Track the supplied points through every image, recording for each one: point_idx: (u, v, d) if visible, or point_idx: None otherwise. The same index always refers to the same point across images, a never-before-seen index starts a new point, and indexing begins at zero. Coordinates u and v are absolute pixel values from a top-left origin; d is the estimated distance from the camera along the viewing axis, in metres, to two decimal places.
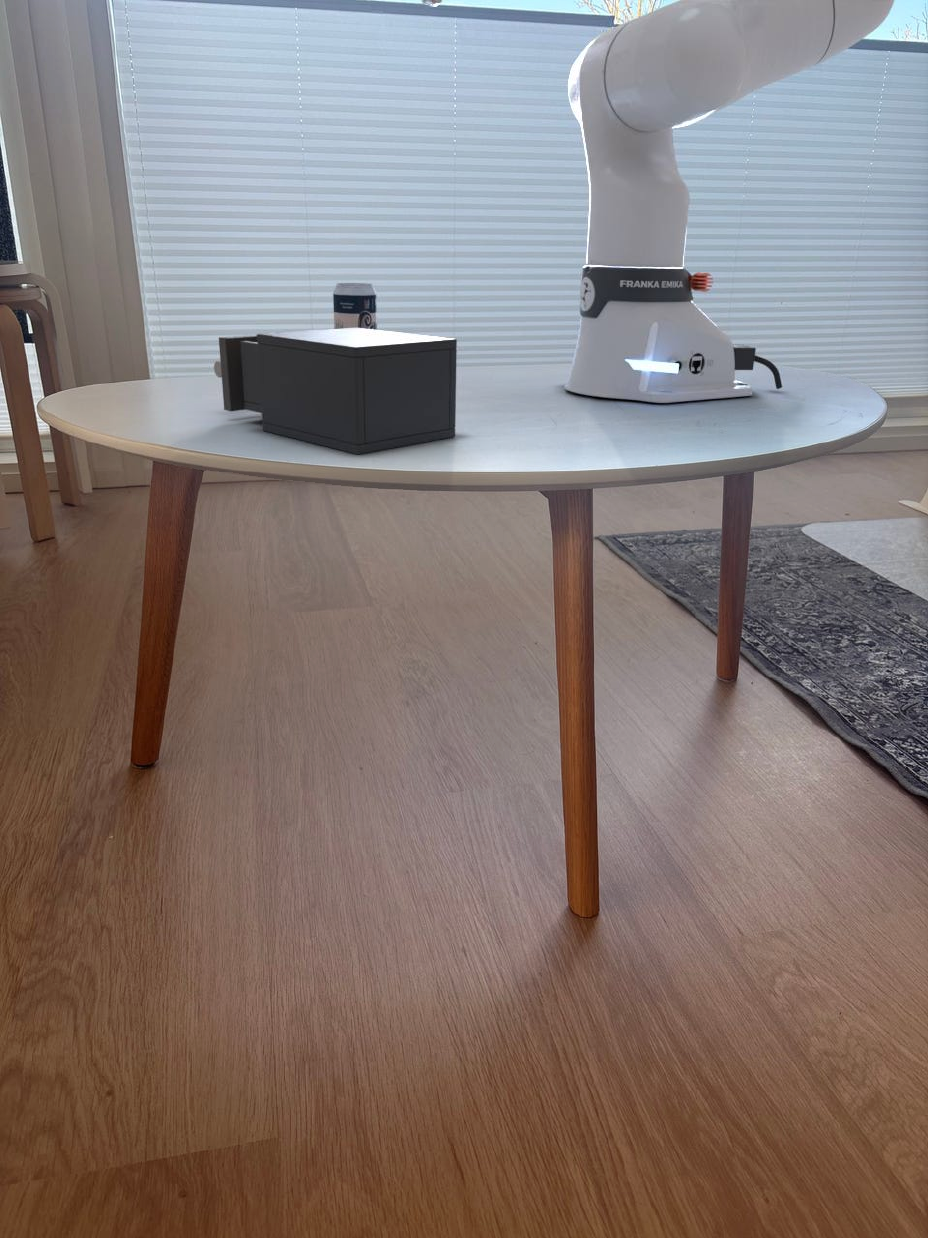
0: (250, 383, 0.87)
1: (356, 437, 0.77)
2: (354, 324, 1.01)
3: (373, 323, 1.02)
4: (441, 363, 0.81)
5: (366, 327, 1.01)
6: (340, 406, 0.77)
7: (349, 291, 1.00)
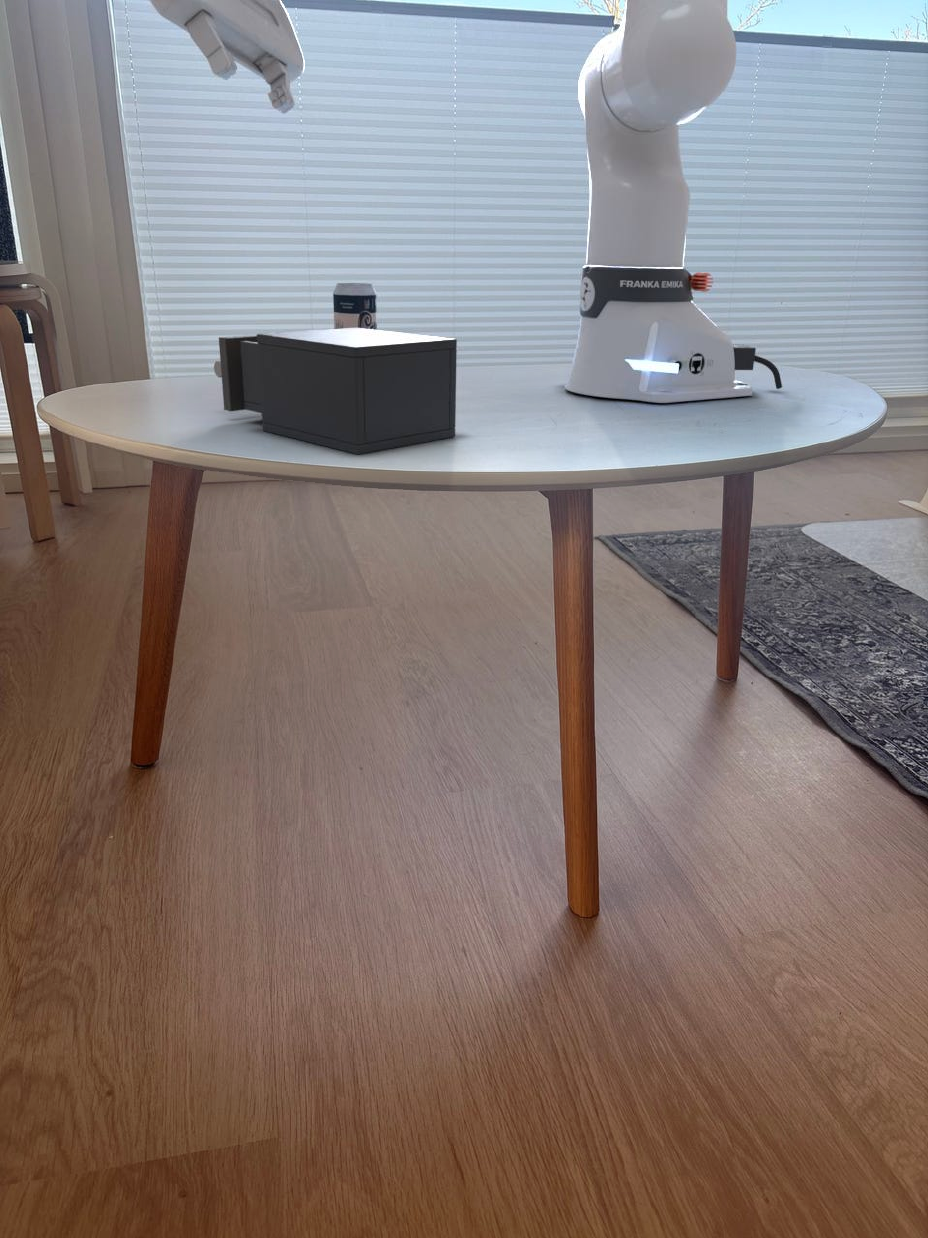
0: (250, 383, 0.87)
1: (356, 437, 0.77)
2: (354, 324, 1.01)
3: (373, 323, 1.02)
4: (441, 363, 0.81)
5: (366, 327, 1.01)
6: (340, 406, 0.77)
7: (349, 291, 1.00)
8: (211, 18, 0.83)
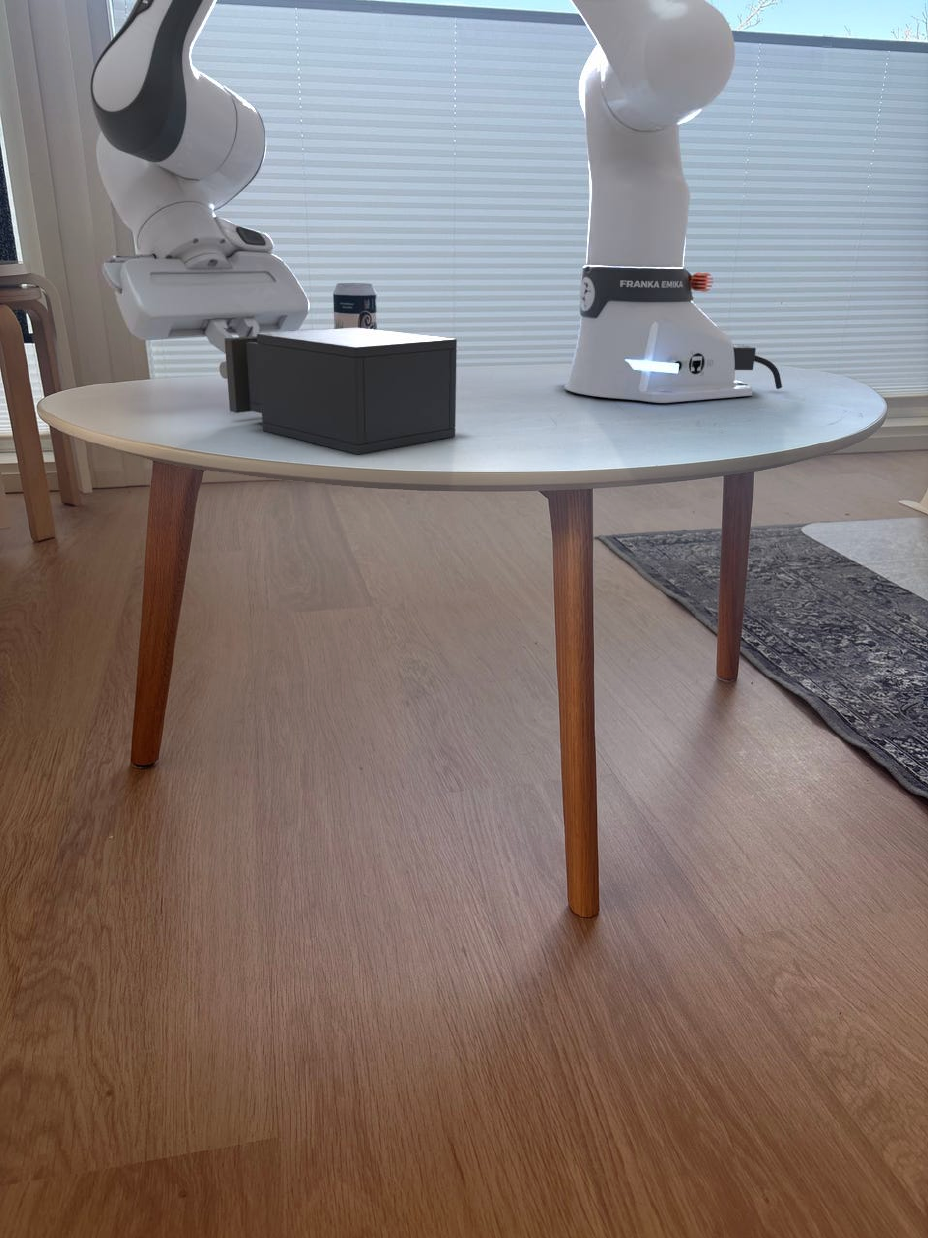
0: (256, 384, 0.87)
1: (356, 437, 0.77)
2: (354, 324, 1.01)
3: (373, 323, 1.02)
4: (441, 363, 0.81)
5: (366, 327, 1.01)
6: (340, 406, 0.77)
7: (349, 291, 1.00)
8: (222, 321, 0.93)
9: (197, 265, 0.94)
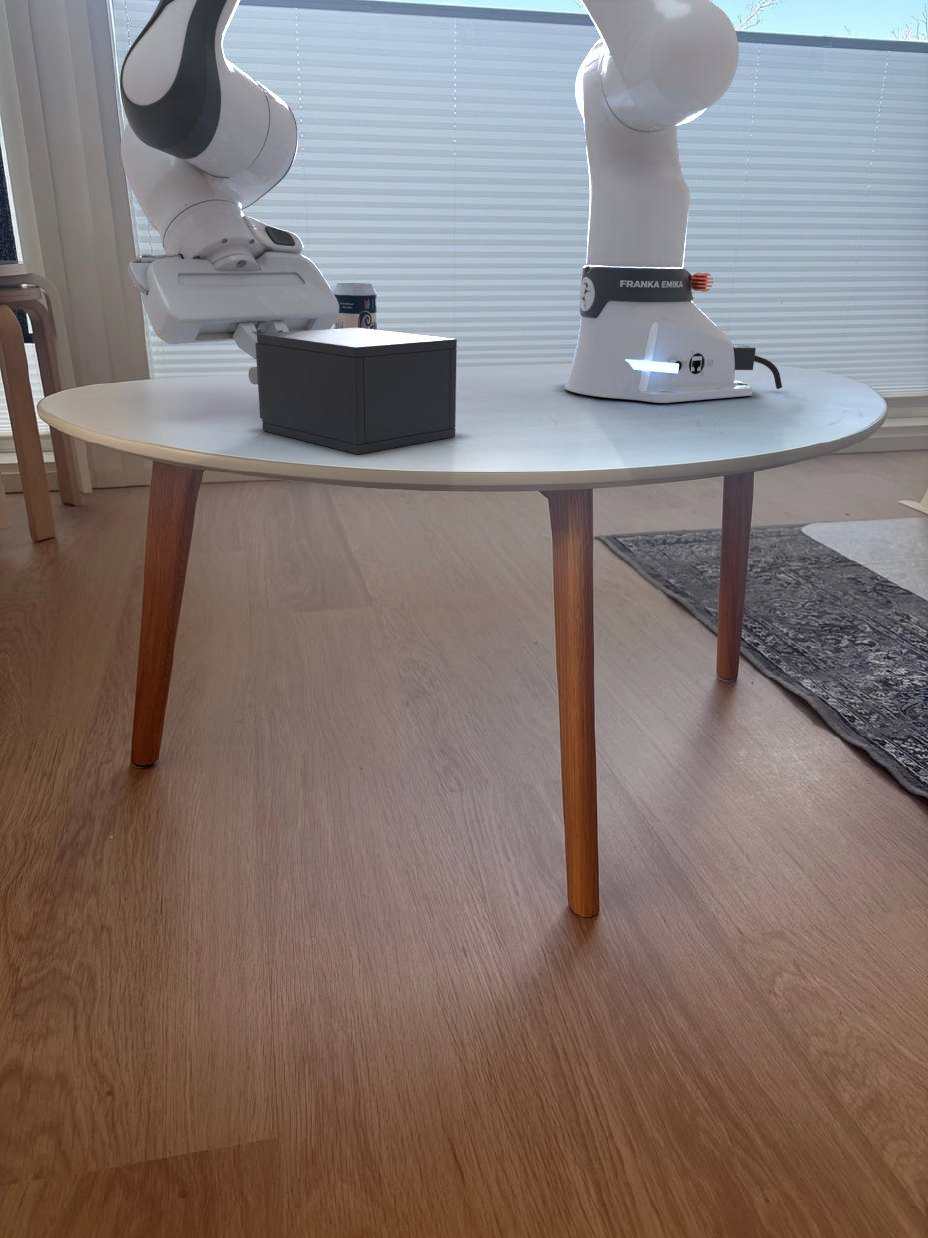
0: None
1: (356, 437, 0.77)
2: (354, 324, 1.01)
3: (373, 323, 1.02)
4: (441, 363, 0.81)
5: (366, 327, 1.01)
6: (340, 406, 0.77)
7: (349, 291, 1.00)
8: (251, 325, 0.90)
9: (226, 266, 0.90)
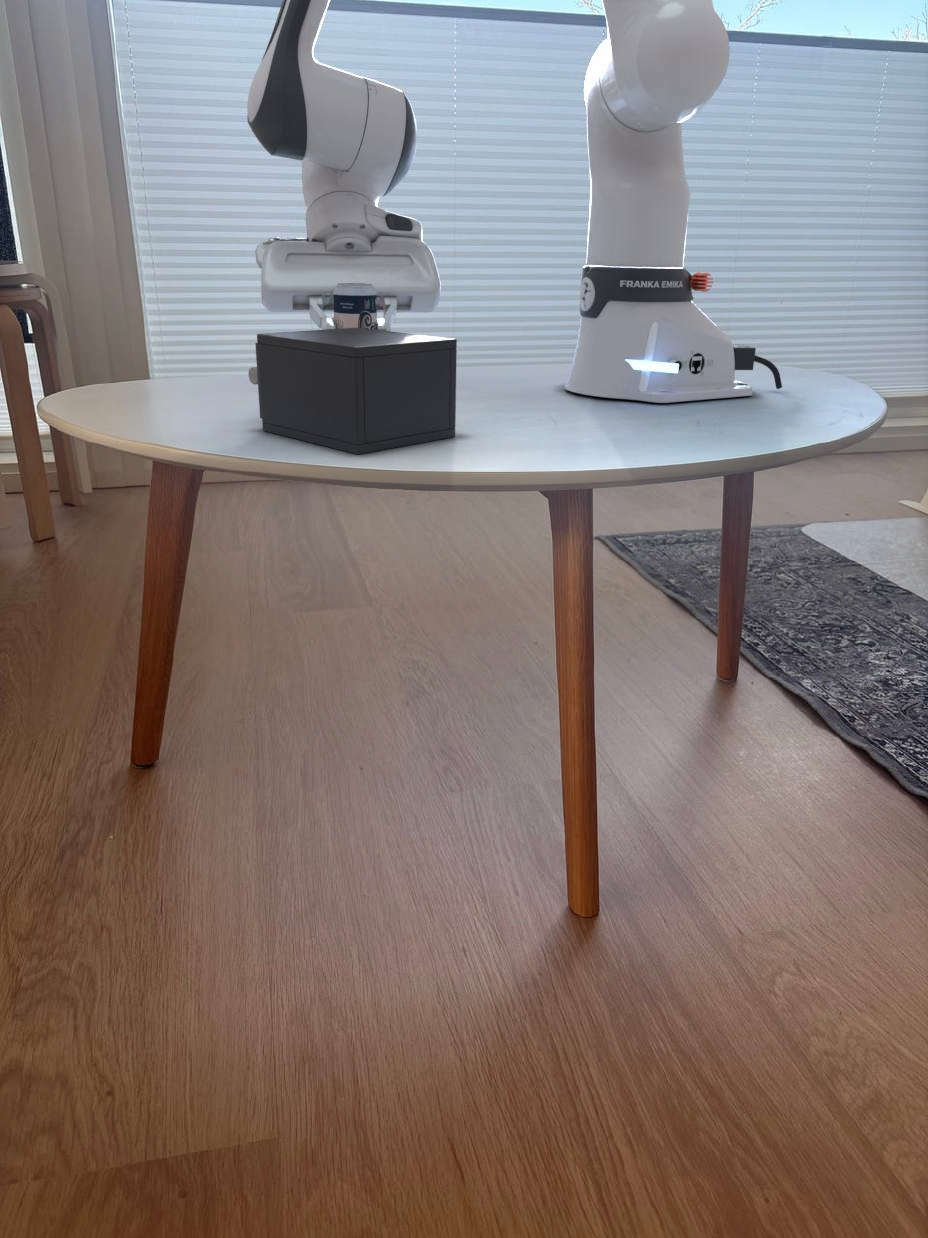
0: None
1: (356, 437, 0.77)
2: (355, 324, 1.01)
3: (373, 323, 1.02)
4: (441, 363, 0.81)
5: (366, 327, 1.01)
6: (340, 406, 0.77)
7: (349, 291, 1.00)
8: (319, 298, 1.03)
9: (335, 247, 1.05)
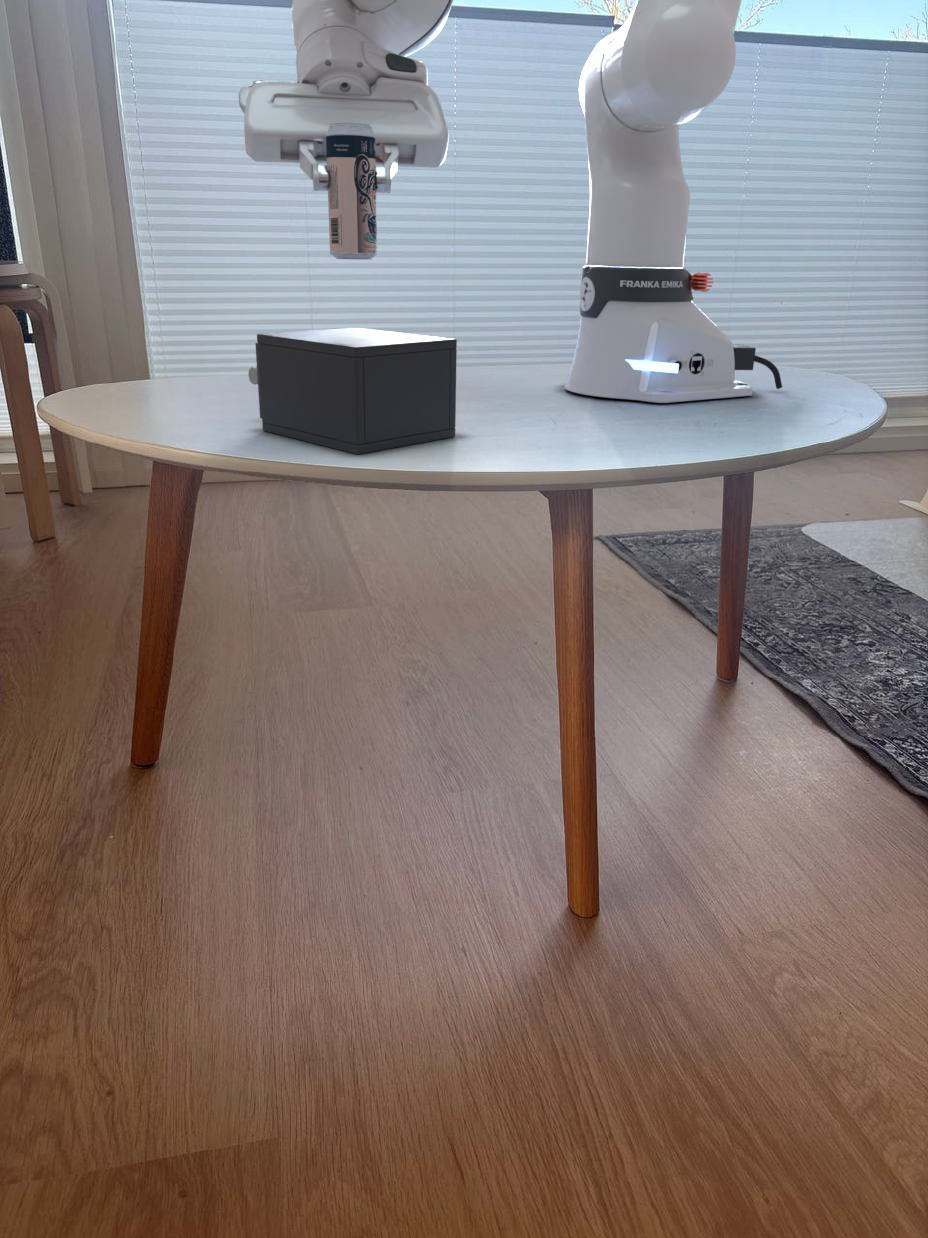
0: None
1: (356, 437, 0.77)
2: (350, 170, 0.89)
3: (371, 171, 0.90)
4: (441, 363, 0.81)
5: (363, 174, 0.89)
6: (340, 406, 0.77)
7: (344, 130, 0.88)
8: (310, 143, 0.91)
9: (328, 89, 0.92)
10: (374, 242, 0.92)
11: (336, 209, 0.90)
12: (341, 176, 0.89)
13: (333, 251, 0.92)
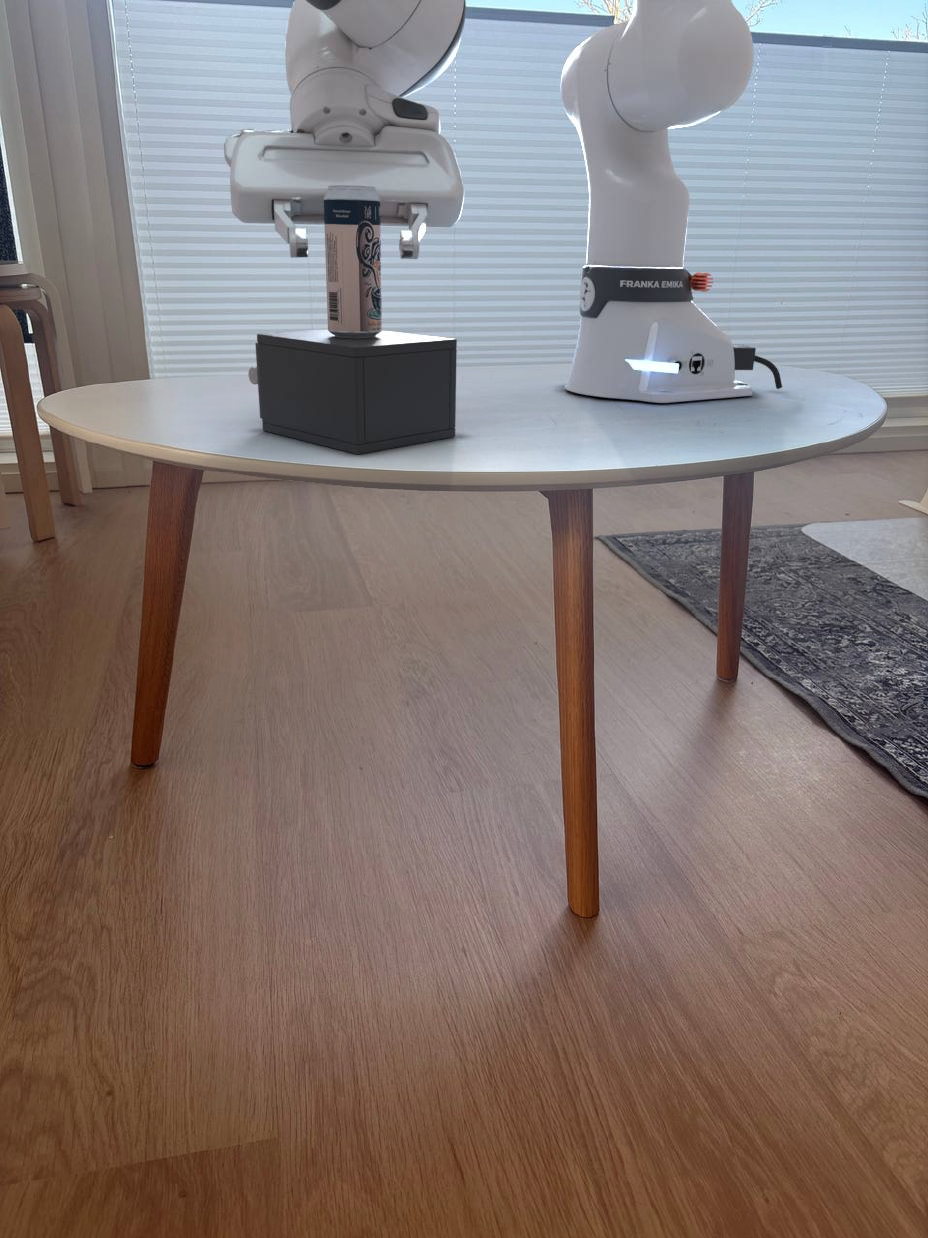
0: None
1: (356, 437, 0.77)
2: (352, 239, 0.77)
3: (376, 239, 0.78)
4: (441, 363, 0.81)
5: (367, 243, 0.77)
6: (340, 406, 0.77)
7: (344, 194, 0.76)
8: (286, 203, 0.79)
9: (327, 140, 0.81)
10: (378, 318, 0.81)
11: (335, 282, 0.79)
12: (341, 245, 0.77)
13: (332, 329, 0.81)
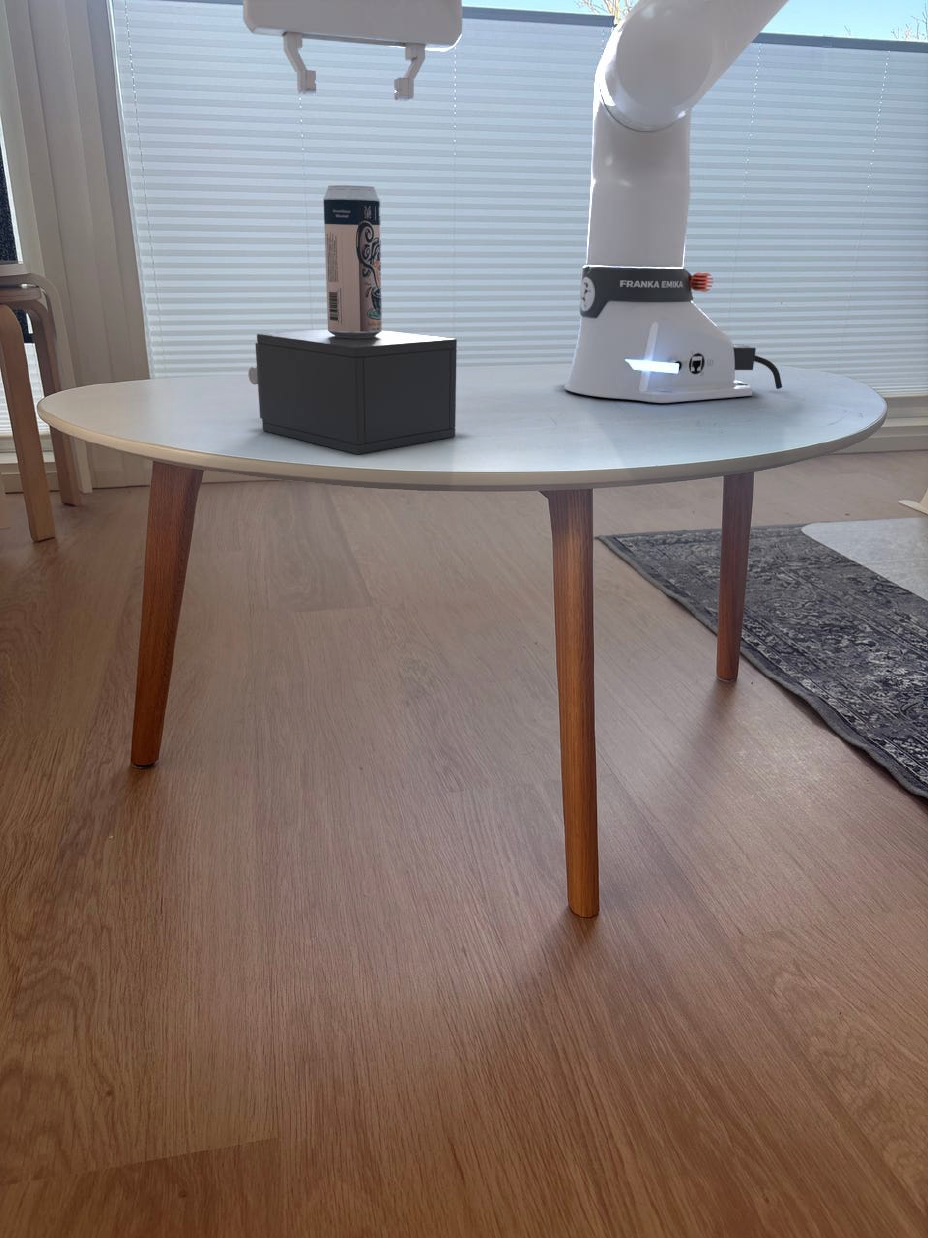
0: None
1: (356, 437, 0.77)
2: (351, 239, 0.77)
3: (376, 239, 0.78)
4: (441, 363, 0.81)
5: (367, 243, 0.77)
6: (340, 406, 0.77)
7: (344, 194, 0.76)
8: (298, 36, 0.84)
9: None
10: (378, 318, 0.81)
11: (335, 282, 0.79)
12: (341, 245, 0.77)
13: (332, 329, 0.81)
